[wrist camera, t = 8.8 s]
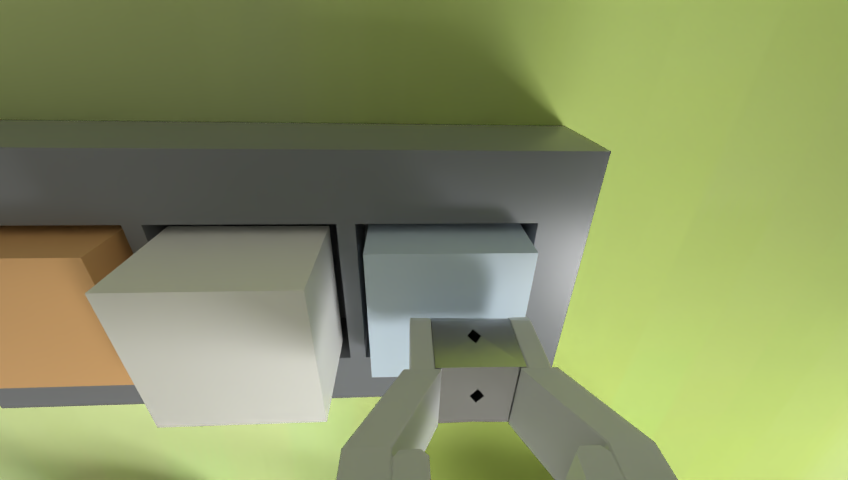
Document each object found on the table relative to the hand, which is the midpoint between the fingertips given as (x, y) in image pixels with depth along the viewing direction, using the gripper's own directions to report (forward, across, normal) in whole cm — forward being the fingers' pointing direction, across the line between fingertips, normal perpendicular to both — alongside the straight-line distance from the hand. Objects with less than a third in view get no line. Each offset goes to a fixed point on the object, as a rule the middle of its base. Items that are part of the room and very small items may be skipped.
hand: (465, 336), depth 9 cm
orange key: (+4, +11, 0) cm, 12 cm away
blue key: (+4, 0, 0) cm, 4 cm away
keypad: (+5, +6, 0) cm, 8 cm away
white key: (+2, +6, 0) cm, 6 cm away
